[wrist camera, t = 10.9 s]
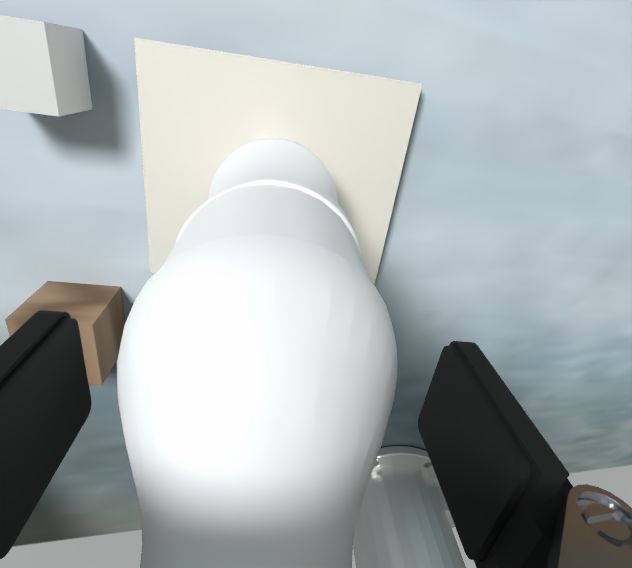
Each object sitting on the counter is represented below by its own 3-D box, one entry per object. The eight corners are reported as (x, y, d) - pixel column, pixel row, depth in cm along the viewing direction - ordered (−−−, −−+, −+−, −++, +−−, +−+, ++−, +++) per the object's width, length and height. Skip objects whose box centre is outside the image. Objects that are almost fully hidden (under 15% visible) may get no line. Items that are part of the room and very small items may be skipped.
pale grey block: (83, 29, 21) (43, 22, 18) (92, 109, 23) (59, 116, 20) (2, 16, 21) (-55, 6, 17) (19, 99, 23) (-29, 105, 19)
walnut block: (121, 286, 29) (92, 325, 24) (127, 340, 31) (102, 385, 27) (48, 280, 28) (5, 319, 24) (60, 336, 30) (23, 381, 26)
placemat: (417, 83, 24) (422, 83, 23) (370, 285, 30) (373, 291, 29) (140, 39, 22) (134, 37, 21) (154, 266, 28) (150, 272, 27)
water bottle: (310, 254, 27) (410, 980, 6) (208, 224, 26) (-204, 1072, 4) (347, 153, 24) (904, 921, 2) (233, 112, 23) (-985, 1237, 1)
